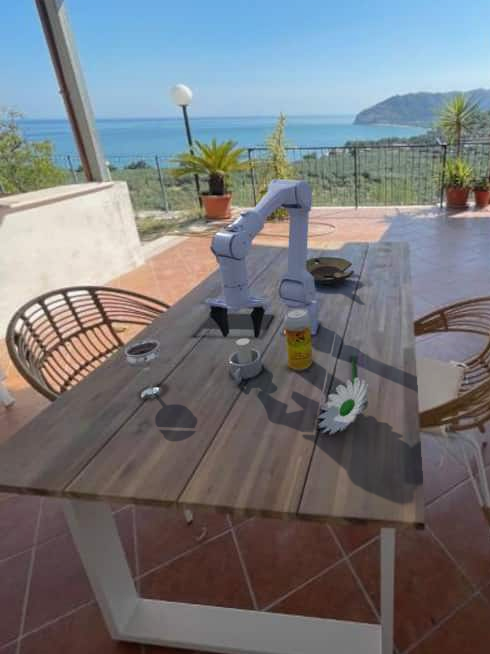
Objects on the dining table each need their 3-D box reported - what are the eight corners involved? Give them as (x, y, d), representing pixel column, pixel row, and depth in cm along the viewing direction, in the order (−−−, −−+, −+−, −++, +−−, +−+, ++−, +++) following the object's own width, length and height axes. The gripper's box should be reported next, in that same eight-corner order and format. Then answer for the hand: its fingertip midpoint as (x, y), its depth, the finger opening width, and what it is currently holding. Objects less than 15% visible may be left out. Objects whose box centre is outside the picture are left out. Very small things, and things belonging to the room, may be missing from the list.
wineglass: (147, 406, 85) (135, 359, 81) (130, 395, 89) (118, 350, 84) (175, 389, 91) (165, 344, 86) (158, 379, 94) (148, 336, 90)
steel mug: (237, 362, 101) (235, 348, 99) (265, 362, 100) (263, 348, 99) (222, 387, 91) (219, 372, 89) (253, 388, 91) (251, 373, 89)
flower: (367, 336, 101) (366, 402, 72) (378, 352, 102) (381, 424, 73) (325, 361, 103) (307, 435, 74) (337, 376, 104) (324, 456, 75)
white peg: (254, 365, 98) (251, 338, 95) (250, 373, 95) (247, 345, 92) (242, 365, 98) (238, 338, 96) (237, 373, 95) (233, 345, 93)
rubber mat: (273, 315, 125) (273, 314, 125) (261, 338, 112) (260, 336, 112) (212, 314, 126) (212, 313, 126) (193, 336, 113) (193, 335, 113)
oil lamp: (352, 267, 167) (352, 250, 164) (356, 295, 139) (356, 275, 136) (300, 268, 166) (298, 251, 163) (293, 297, 138) (292, 277, 135)
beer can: (292, 375, 95) (288, 320, 90) (285, 362, 100) (280, 310, 95) (315, 368, 98) (312, 315, 93) (307, 356, 103) (304, 305, 98)
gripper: (196, 289, 85) (205, 343, 90) (261, 290, 84) (267, 344, 89) (209, 277, 92) (217, 328, 97) (270, 278, 91) (274, 329, 96)
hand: (241, 335), depth 93 cm, fingers open, 7 cm apart
